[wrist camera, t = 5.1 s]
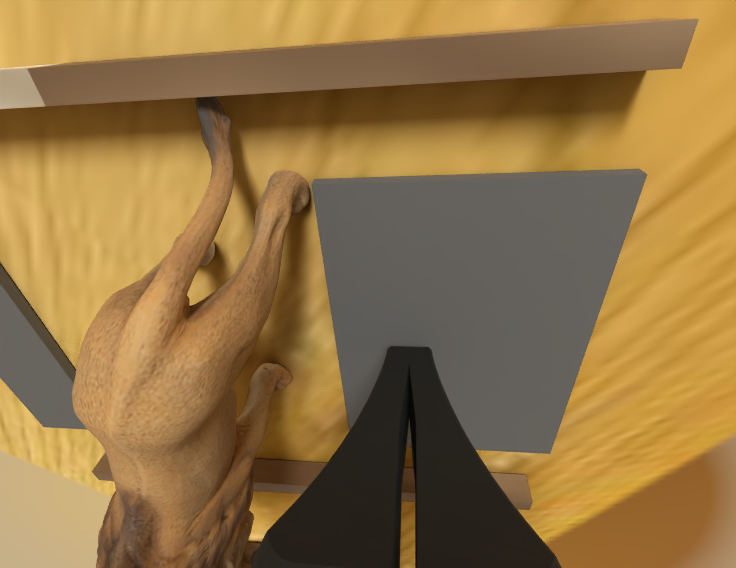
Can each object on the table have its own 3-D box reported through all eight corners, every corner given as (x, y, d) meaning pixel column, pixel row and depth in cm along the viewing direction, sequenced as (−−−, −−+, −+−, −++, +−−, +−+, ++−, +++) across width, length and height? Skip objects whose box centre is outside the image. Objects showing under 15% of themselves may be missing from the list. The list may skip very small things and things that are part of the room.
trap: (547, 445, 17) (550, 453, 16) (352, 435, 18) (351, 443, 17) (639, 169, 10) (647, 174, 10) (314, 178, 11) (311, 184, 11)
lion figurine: (324, 438, 18) (260, 728, 11) (213, 425, 18) (79, 697, 11) (313, 96, 10) (-14, 347, 2) (110, 81, 10) (-748, 263, 3)
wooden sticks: (523, 483, 18) (529, 510, 17) (113, 458, 21) (99, 479, 20) (664, 18, 8) (698, 18, 7) (-178, 81, 11) (-237, 87, 10)
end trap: (113, 423, 19) (107, 430, 19) (50, 420, 19) (43, 427, 19) (-53, 190, 12) (-65, 195, 12) (-144, 193, 13) (-158, 198, 12)
